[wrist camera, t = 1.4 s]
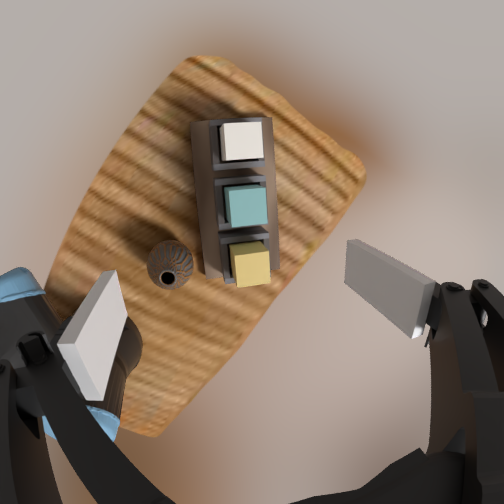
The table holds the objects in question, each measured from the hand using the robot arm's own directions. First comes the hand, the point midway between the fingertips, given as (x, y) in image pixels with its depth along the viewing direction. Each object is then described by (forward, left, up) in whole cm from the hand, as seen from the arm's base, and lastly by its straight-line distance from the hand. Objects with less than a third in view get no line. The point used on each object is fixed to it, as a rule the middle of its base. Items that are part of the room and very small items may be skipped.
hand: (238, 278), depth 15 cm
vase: (-7, -8, -29) cm, 30 cm away
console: (+4, 0, -29) cm, 29 cm away
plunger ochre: (+4, -8, -24) cm, 25 cm away
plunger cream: (+4, +8, -24) cm, 26 cm away
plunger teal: (+4, 0, -24) cm, 24 cm away
